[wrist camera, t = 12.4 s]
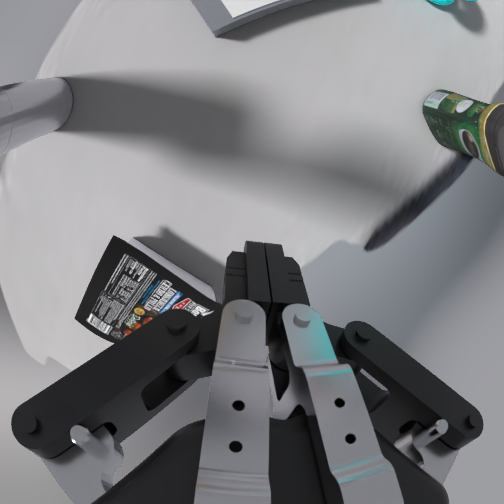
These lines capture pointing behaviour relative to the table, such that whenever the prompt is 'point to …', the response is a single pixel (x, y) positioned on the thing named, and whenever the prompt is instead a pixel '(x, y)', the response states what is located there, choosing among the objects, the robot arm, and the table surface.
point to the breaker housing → (238, 11)
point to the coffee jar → (467, 126)
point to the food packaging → (138, 291)
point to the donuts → (445, 1)
